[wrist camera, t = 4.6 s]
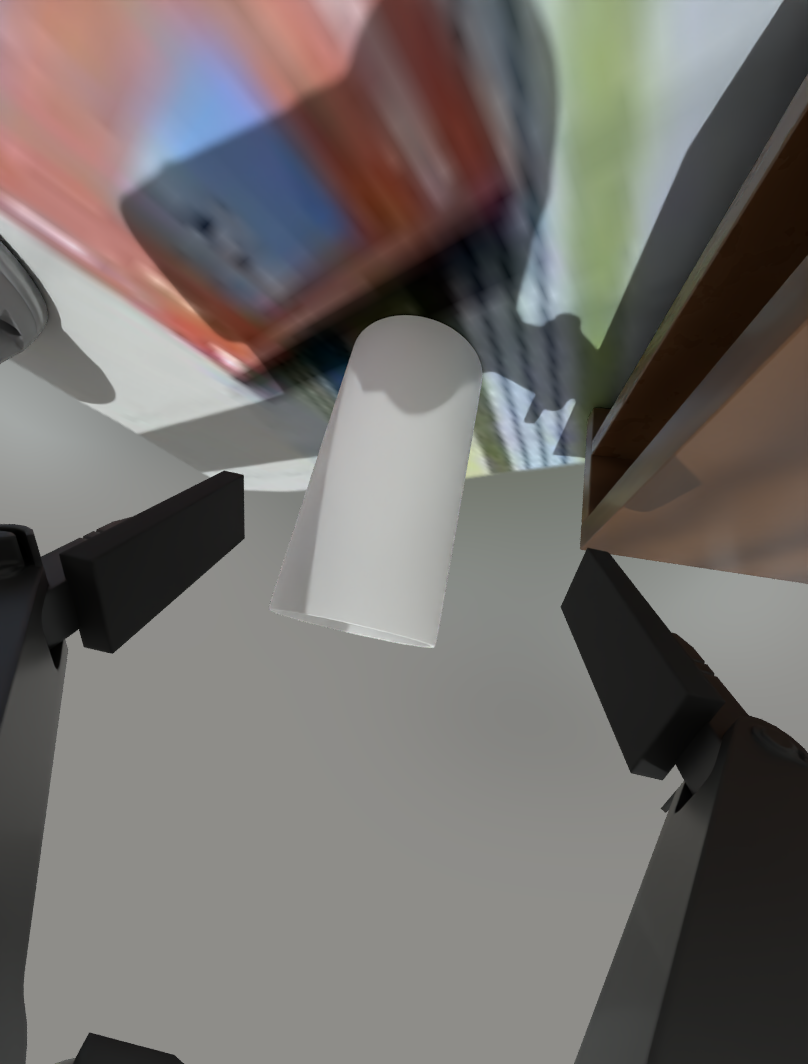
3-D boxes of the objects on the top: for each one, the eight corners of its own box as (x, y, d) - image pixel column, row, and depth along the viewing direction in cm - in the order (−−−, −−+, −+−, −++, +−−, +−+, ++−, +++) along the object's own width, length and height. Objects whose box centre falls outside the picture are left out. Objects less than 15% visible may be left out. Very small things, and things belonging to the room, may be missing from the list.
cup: (496, 327, 19) (443, 643, 14) (470, 423, 27) (430, 650, 22) (342, 303, 20) (237, 598, 15) (360, 404, 28) (295, 621, 23)
